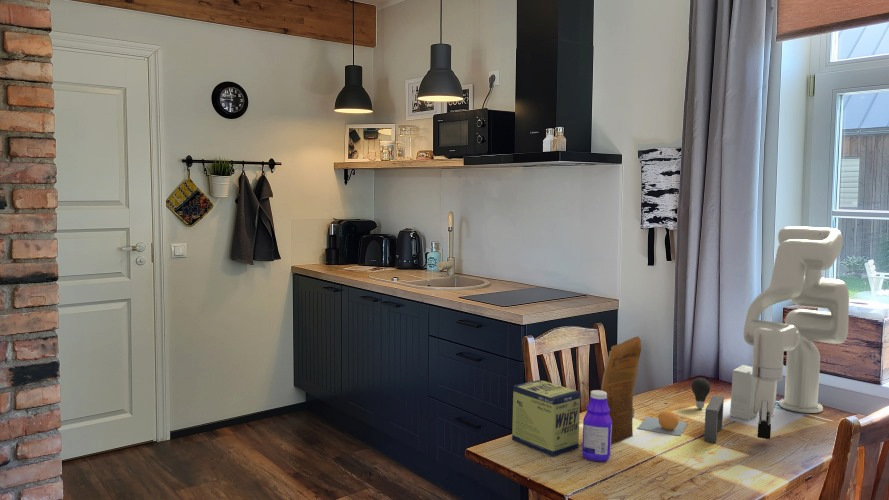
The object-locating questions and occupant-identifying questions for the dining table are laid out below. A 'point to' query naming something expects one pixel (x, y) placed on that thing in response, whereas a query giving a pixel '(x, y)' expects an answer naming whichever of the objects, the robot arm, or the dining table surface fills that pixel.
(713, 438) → the bridge
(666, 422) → the ball
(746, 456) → the dining table surface
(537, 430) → the protein box
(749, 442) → the dining table surface
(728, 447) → the dining table surface
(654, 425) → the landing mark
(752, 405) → the skincare box
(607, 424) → the bottle
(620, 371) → the pancake mix bag
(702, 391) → the light bulb
